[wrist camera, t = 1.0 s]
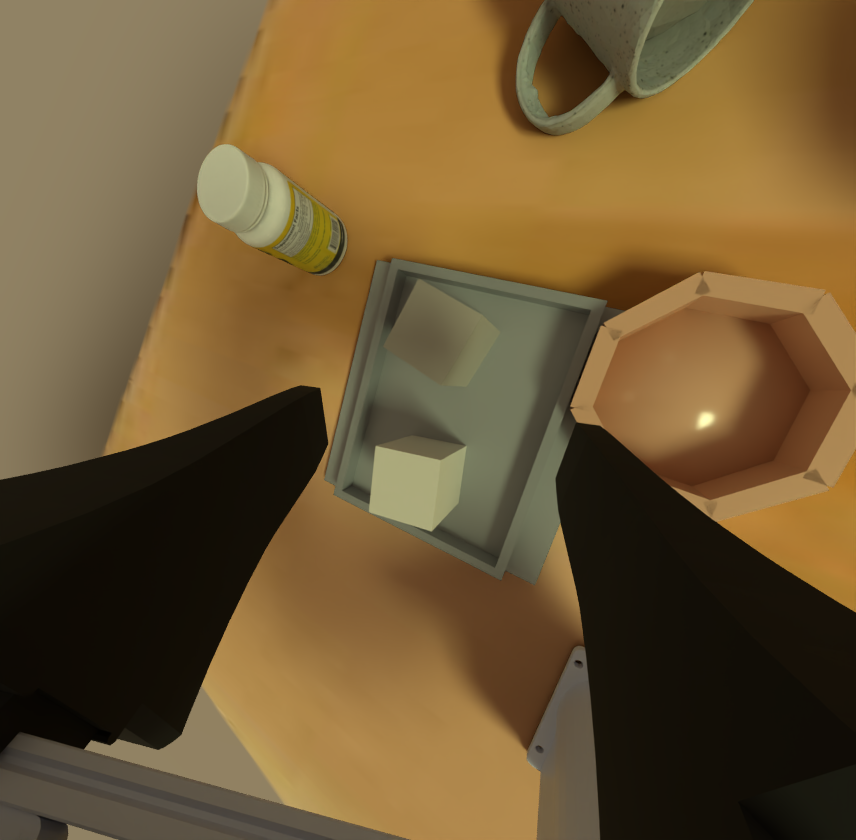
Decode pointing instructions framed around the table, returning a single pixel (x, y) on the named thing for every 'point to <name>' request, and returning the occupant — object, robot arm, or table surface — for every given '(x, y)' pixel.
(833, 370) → the bowl
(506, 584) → the table surface
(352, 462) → the parts tray
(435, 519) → the sage green cube
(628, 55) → the ceramic mug
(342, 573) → the table surface
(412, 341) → the beige square block
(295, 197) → the supplement bottle
